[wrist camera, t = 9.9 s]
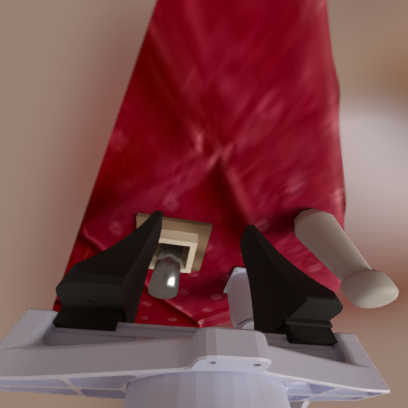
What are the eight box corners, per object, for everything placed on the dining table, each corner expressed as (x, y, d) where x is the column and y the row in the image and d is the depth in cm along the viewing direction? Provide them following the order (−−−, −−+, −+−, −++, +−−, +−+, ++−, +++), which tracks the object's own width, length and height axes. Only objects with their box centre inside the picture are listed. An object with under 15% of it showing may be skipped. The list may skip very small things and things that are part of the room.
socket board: (199, 267, 34) (198, 280, 31) (139, 260, 32) (134, 273, 30) (212, 223, 27) (212, 235, 25) (138, 212, 26) (131, 224, 23)
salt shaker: (293, 236, 29) (347, 320, 18) (284, 213, 26) (342, 297, 15) (328, 223, 27) (411, 306, 16) (323, 197, 24) (419, 278, 14)
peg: (180, 255, 30) (174, 300, 24) (159, 251, 30) (146, 296, 23) (185, 240, 28) (180, 285, 21) (162, 236, 28) (149, 281, 21)
